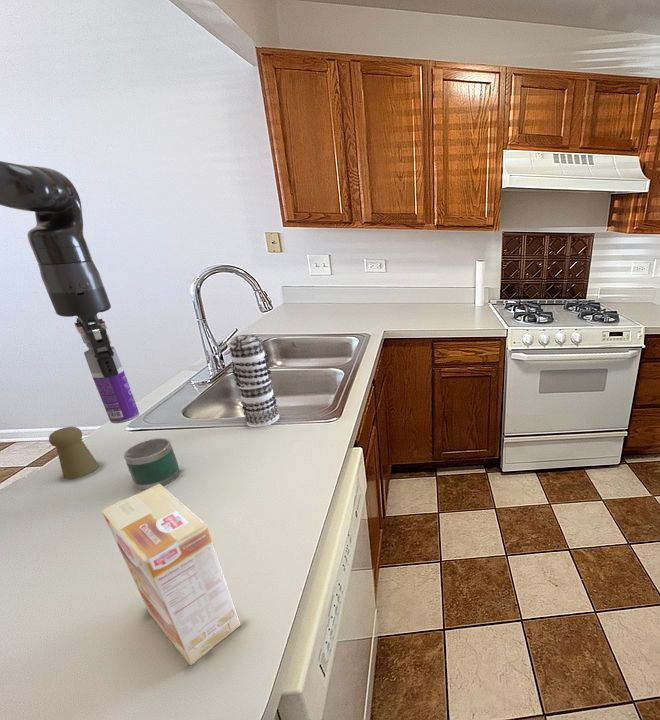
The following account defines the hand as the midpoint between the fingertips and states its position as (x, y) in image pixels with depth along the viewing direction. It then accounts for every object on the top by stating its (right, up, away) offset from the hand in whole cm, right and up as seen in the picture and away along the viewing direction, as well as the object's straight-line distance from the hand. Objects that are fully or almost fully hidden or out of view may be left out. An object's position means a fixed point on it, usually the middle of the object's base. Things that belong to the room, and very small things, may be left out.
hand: (108, 371), depth 79 cm
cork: (-19, -24, +14) cm, 33 cm away
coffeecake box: (+31, -37, -19) cm, 51 cm away
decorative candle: (+12, -15, +35) cm, 40 cm away
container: (0, -10, +4) cm, 11 cm away
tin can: (+1, -24, +11) cm, 27 cm away
